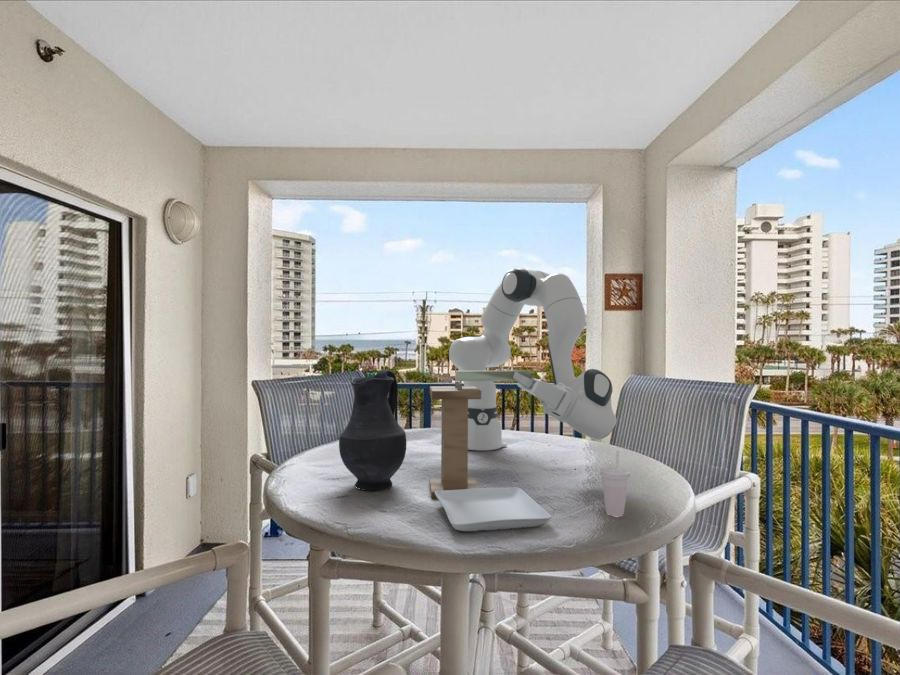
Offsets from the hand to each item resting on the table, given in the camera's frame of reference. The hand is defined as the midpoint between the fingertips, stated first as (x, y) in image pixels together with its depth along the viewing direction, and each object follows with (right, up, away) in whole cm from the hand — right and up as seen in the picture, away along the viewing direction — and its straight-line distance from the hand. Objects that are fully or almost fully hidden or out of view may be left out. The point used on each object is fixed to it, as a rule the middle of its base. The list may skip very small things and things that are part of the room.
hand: (512, 373), depth 132 cm
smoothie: (+21, -30, -18) cm, 41 cm away
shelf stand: (-15, -30, -1) cm, 33 cm away
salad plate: (-7, -30, -19) cm, 37 cm away
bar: (-5, -2, 0) cm, 5 cm away
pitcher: (-36, -30, +4) cm, 46 cm away
